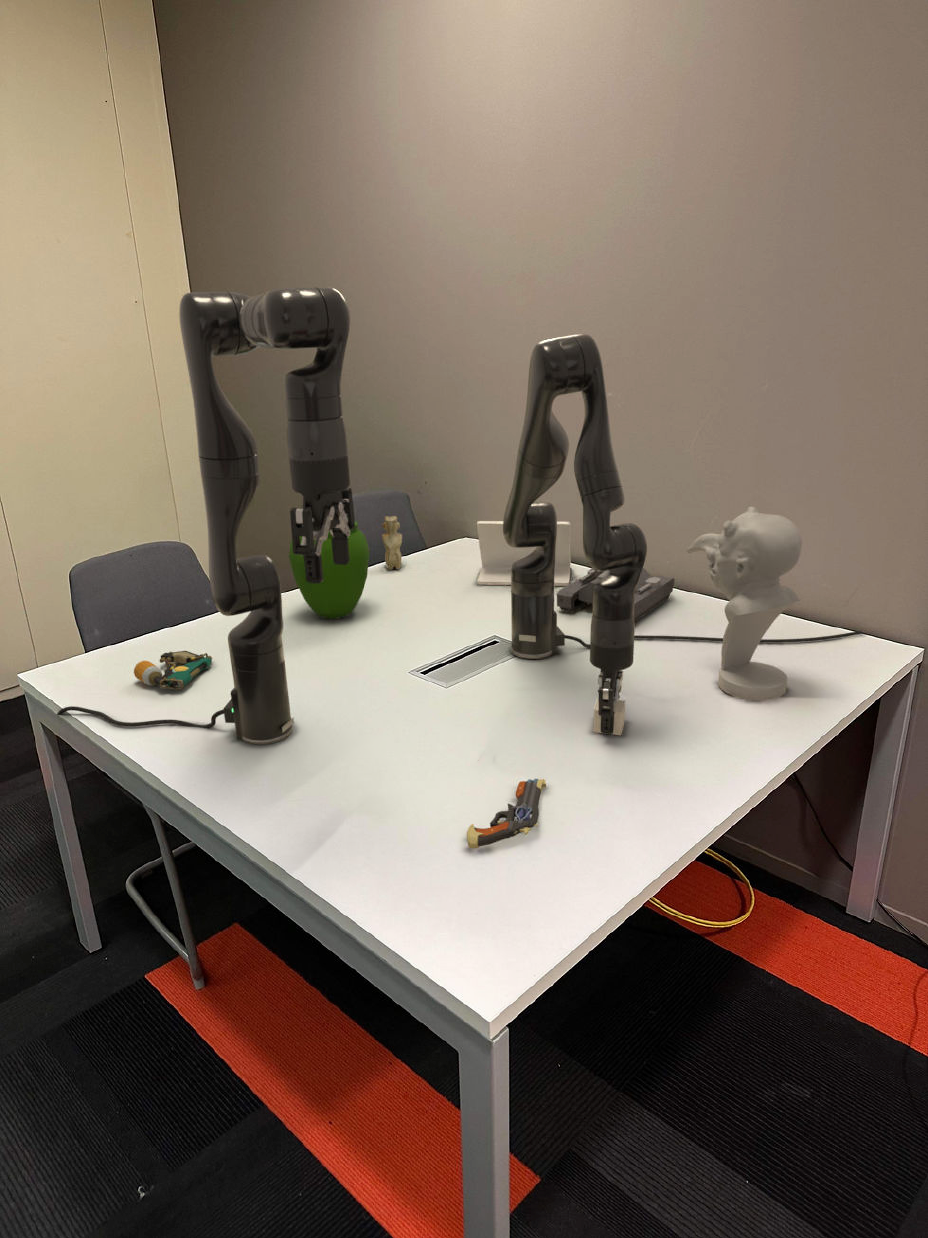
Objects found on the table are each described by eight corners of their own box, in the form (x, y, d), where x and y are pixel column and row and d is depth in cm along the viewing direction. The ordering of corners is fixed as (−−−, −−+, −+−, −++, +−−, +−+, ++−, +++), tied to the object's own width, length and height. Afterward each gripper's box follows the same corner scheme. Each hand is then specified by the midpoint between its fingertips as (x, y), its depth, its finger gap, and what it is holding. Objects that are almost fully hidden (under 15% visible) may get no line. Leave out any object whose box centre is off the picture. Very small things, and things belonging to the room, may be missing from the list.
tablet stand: (569, 585, 229) (570, 524, 223) (476, 584, 232) (475, 523, 226) (570, 566, 246) (571, 508, 240) (484, 564, 249) (483, 507, 243)
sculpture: (404, 563, 253) (401, 513, 247) (403, 570, 246) (400, 519, 241) (384, 564, 253) (381, 514, 247) (383, 571, 246) (380, 520, 241)
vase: (389, 608, 216) (383, 514, 208) (339, 633, 201) (330, 533, 192) (330, 596, 226) (322, 506, 218) (278, 619, 211) (267, 523, 202)
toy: (603, 584, 229) (605, 530, 224) (673, 597, 218) (677, 540, 213) (555, 612, 210) (556, 553, 205) (630, 627, 199) (633, 566, 194)
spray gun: (177, 659, 191) (231, 671, 185) (120, 684, 176) (176, 698, 171) (176, 641, 190) (230, 653, 184) (118, 665, 175) (174, 678, 169)
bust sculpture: (719, 649, 185) (733, 490, 173) (809, 690, 165) (831, 514, 153) (662, 665, 178) (671, 501, 166) (748, 710, 158) (766, 527, 146)
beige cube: (593, 732, 153) (593, 709, 151) (597, 720, 157) (597, 697, 155) (621, 735, 151) (622, 712, 150) (624, 723, 156) (625, 700, 154)
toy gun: (462, 837, 120) (533, 836, 117) (484, 775, 137) (546, 773, 135) (465, 854, 120) (535, 853, 118) (486, 790, 138) (547, 788, 136)
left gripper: (320, 463, 103) (332, 591, 108) (366, 444, 115) (374, 559, 121) (265, 462, 105) (279, 587, 111) (316, 443, 118) (326, 556, 123)
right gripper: (629, 656, 141) (625, 747, 147) (638, 625, 153) (634, 710, 159) (584, 652, 143) (581, 742, 149) (596, 622, 155) (594, 706, 161)
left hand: (328, 572), depth 116 cm, fingers open, 8 cm apart
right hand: (609, 725), depth 154 cm, fingers closed on beige cube, 5 cm apart
